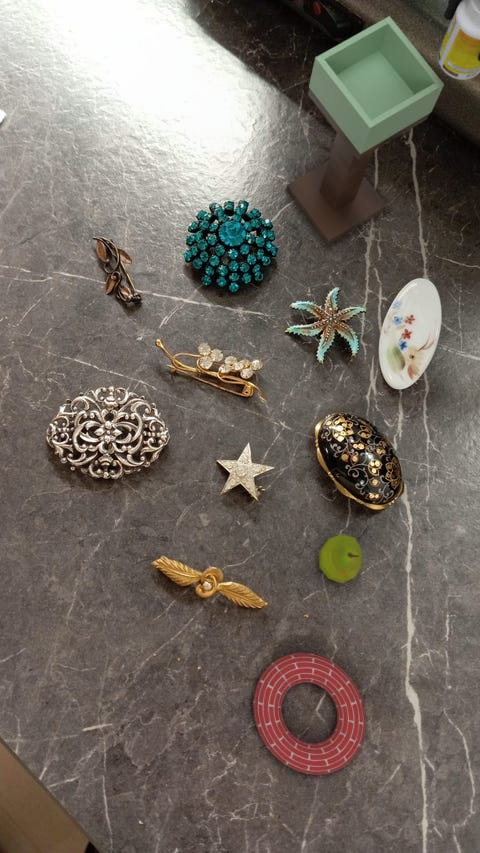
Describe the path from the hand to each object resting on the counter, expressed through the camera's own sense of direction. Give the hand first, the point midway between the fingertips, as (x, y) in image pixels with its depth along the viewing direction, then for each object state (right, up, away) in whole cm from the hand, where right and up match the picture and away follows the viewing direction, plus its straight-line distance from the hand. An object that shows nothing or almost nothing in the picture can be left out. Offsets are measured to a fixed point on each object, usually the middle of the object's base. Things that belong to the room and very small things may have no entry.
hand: (472, 33), depth 101 cm
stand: (-11, -9, +38) cm, 41 cm away
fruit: (-13, -63, +24) cm, 68 cm away
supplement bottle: (0, -1, +5) cm, 5 cm away
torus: (-17, -82, +19) cm, 86 cm away
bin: (-10, -3, +13) cm, 16 cm away
